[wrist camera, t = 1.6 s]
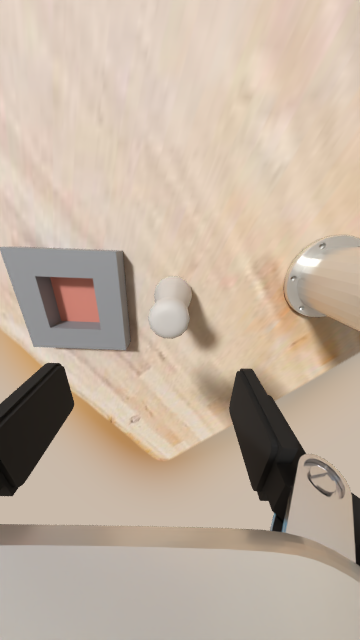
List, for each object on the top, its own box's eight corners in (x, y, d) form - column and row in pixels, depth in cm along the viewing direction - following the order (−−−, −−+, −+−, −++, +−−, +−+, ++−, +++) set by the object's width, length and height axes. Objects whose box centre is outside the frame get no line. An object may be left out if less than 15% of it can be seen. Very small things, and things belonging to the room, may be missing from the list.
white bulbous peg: (185, 311, 30) (188, 353, 19) (153, 303, 30) (134, 342, 18) (195, 278, 28) (204, 303, 16) (160, 269, 28) (144, 288, 16)
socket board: (122, 250, 27) (115, 251, 24) (130, 341, 33) (126, 350, 30) (17, 246, 27) (-2, 246, 24) (46, 338, 33) (33, 346, 30)
